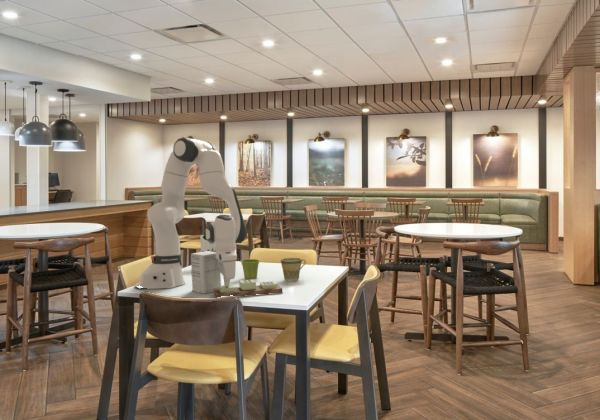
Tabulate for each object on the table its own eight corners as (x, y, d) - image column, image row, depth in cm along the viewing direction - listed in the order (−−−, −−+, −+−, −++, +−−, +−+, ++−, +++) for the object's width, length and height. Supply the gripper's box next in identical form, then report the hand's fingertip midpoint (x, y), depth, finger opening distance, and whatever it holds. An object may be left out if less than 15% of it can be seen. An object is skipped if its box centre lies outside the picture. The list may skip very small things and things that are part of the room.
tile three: (263, 292, 213) (262, 284, 213) (259, 289, 219) (259, 282, 219) (276, 290, 215) (276, 283, 215) (273, 288, 221) (273, 281, 220)
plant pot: (257, 280, 242) (256, 262, 241) (238, 279, 244) (238, 262, 243) (262, 276, 251) (262, 259, 251) (244, 276, 253) (244, 259, 253)
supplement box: (209, 287, 228) (208, 250, 227) (221, 290, 222) (220, 252, 221) (191, 290, 221) (190, 253, 220) (203, 293, 215) (202, 255, 214)
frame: (216, 298, 205) (216, 293, 205) (213, 293, 215) (213, 289, 215) (282, 292, 214) (282, 288, 213) (276, 288, 223) (276, 283, 223)
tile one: (220, 295, 208) (220, 288, 208) (218, 292, 213) (218, 285, 213) (235, 294, 210) (234, 287, 209) (232, 291, 215) (232, 284, 215)
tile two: (242, 290, 210) (241, 282, 210) (239, 287, 216) (239, 280, 216) (256, 289, 212) (255, 281, 212) (253, 286, 218) (252, 279, 218)
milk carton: (199, 268, 277) (198, 232, 276) (205, 265, 286) (204, 230, 285) (214, 268, 276) (213, 232, 275) (219, 265, 285) (218, 230, 284)
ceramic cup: (287, 282, 234) (287, 261, 234) (277, 279, 243) (277, 259, 242) (311, 279, 241) (310, 259, 240) (300, 276, 249) (300, 256, 249)
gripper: (215, 251, 219) (216, 282, 220) (222, 257, 200) (223, 291, 201) (229, 250, 221) (230, 280, 222) (237, 256, 202) (238, 290, 203)
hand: (227, 286), depth 211 cm, fingers closed, pressing on tile one
